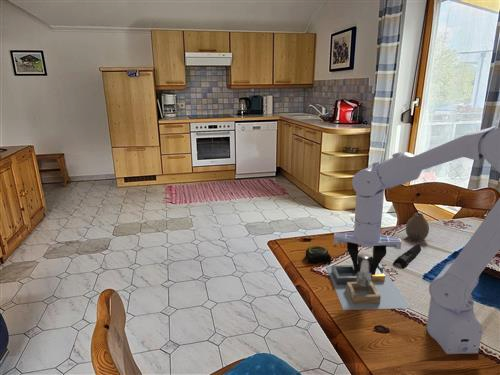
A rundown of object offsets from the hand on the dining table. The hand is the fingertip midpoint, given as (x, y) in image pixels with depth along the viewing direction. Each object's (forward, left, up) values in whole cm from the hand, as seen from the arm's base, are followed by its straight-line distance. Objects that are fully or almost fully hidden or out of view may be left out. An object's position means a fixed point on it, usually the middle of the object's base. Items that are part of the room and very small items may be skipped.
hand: (364, 272), depth 78 cm
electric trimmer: (+18, -19, -8) cm, 27 cm away
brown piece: (0, 0, -7) cm, 7 cm away
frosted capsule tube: (0, 0, -3) cm, 3 cm away
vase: (+32, -28, -8) cm, 43 cm away
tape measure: (+18, +7, -8) cm, 21 cm away
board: (+4, -2, -8) cm, 9 cm away
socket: (+9, -2, -7) cm, 12 cm away
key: (+9, -6, -7) cm, 13 cm away
